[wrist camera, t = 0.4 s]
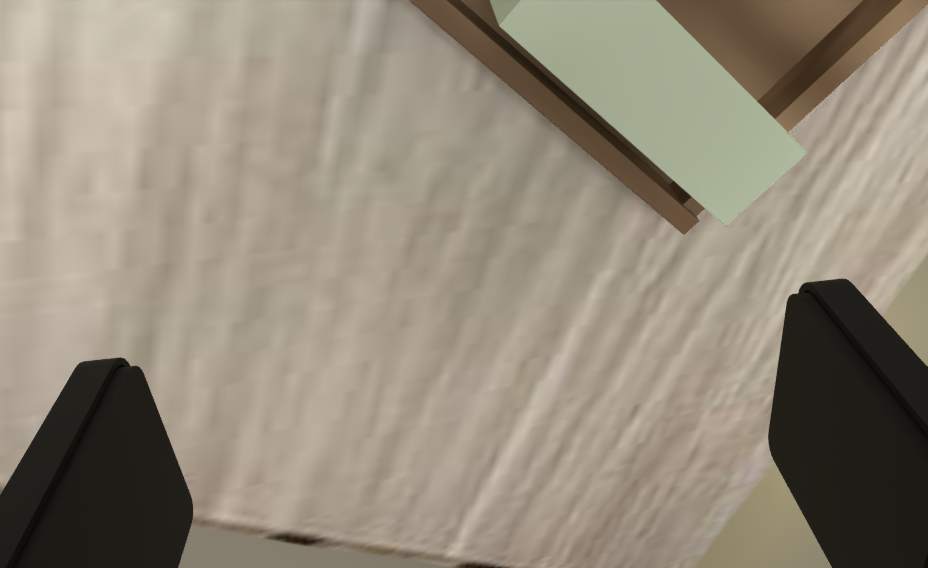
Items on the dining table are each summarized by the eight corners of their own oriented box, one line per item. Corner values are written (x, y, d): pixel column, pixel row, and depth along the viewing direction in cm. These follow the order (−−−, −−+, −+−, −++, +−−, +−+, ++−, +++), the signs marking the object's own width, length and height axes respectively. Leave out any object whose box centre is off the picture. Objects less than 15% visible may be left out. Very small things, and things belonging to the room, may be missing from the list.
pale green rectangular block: (540, -107, 34) (583, -73, 25) (720, 72, 38) (807, 152, 30) (478, -31, 35) (499, 25, 27) (659, 134, 40) (725, 226, 31)
